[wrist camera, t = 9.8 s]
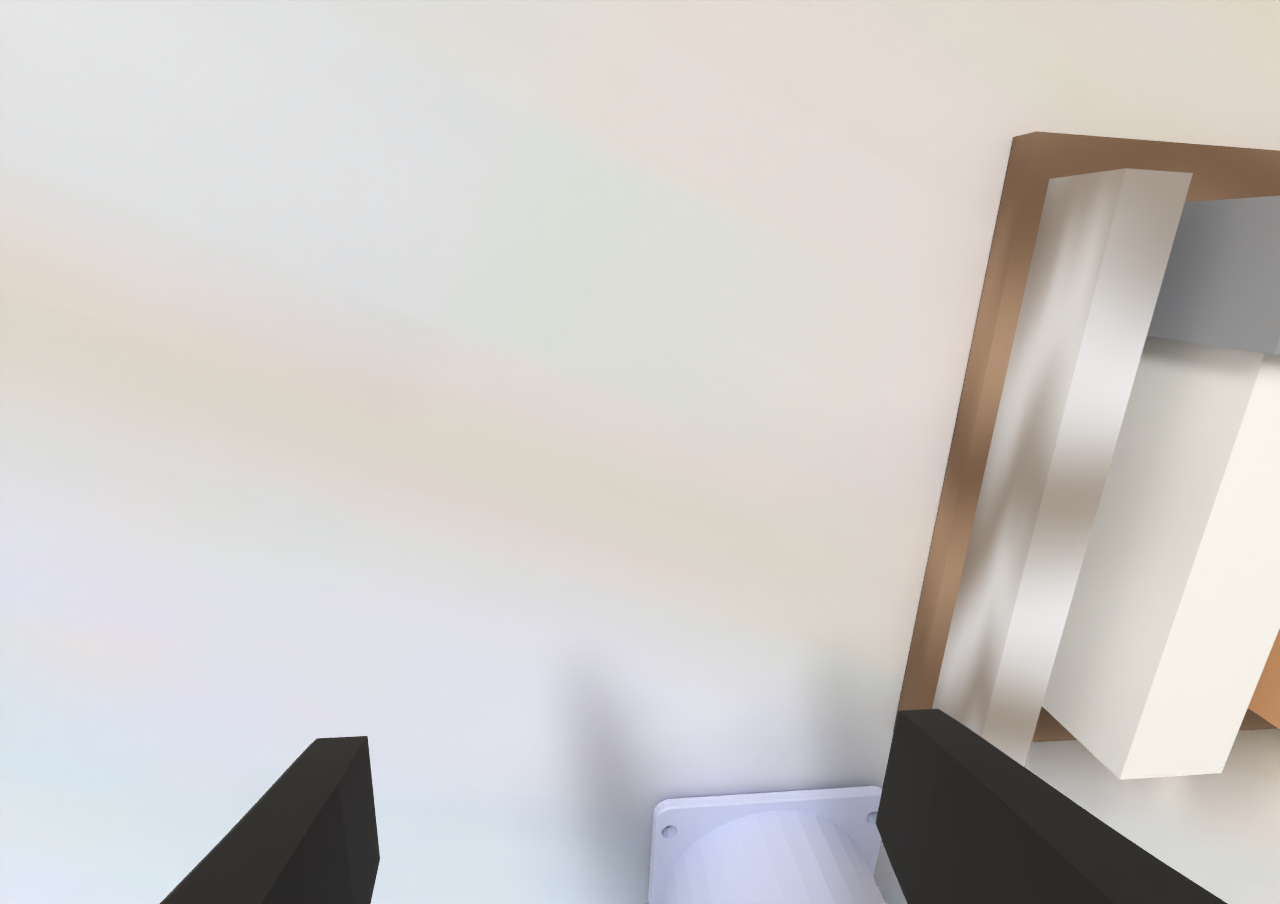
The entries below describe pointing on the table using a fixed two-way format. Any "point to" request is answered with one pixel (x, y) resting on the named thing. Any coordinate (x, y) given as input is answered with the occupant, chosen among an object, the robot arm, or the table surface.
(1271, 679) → the capped square column
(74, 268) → the table surface
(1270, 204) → the capped white pillar
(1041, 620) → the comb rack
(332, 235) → the table surface
